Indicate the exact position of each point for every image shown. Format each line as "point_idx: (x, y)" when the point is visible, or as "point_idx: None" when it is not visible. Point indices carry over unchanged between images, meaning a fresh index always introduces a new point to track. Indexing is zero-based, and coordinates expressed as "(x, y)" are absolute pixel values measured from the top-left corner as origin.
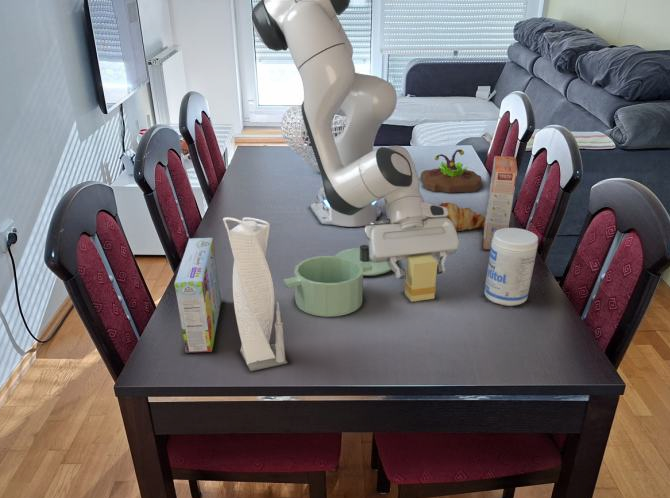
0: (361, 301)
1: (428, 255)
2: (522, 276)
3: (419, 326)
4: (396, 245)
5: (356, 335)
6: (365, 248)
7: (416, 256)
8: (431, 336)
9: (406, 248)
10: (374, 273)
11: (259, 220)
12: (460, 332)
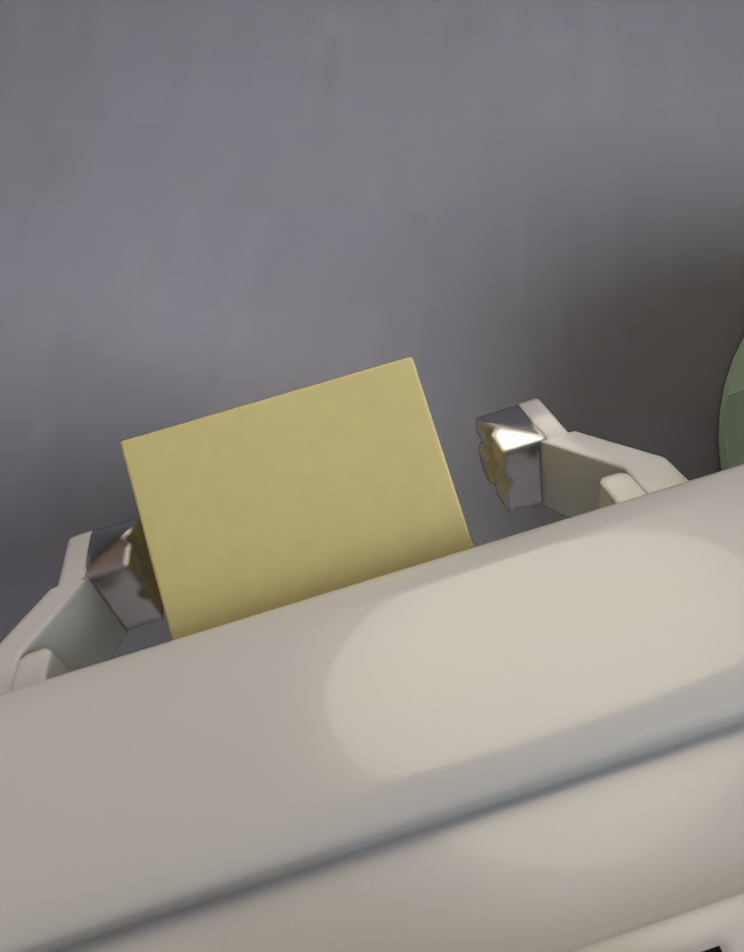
0: (737, 382)
1: (206, 614)
2: None
3: (365, 134)
4: (689, 589)
5: (728, 39)
6: None
7: (361, 580)
8: (308, 28)
9: (518, 583)
10: None
11: None
12: (134, 70)
